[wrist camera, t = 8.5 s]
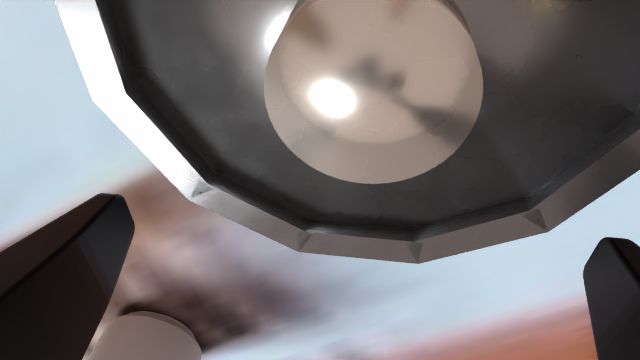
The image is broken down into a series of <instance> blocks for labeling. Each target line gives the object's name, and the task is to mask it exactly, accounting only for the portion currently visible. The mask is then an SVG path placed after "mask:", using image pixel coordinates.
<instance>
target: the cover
mask: <svg viewBox="0 0 640 360" xmlns="http://www.w3.org/2000/svg"><path fill="white" fill-rule="evenodd" d="M482 97H483V77H482V70H481V66H480V62H479V59H478V55H477V52H476V49H475V46H474V43H473V40H472V37H471V34H470V31H469V28H468V25H467V22H466V19H465V16H464V12H463V9H462V6H461V3H460V0H297V2H296V4H295V6H294V8H293V10H292V12H291V13H290V15H289V17H288V19H287V21H286V23H285V25H284V27H283V29H282V31H281V33H280V35H279V36H278V38H277V40H276V42H275V44H274V46H273V48H272V51H271V53H270V55H269V58H268V61H267V65H266V69H265V76H264V98H265V104H266V108H267V112H268V115H269V118H270V120H271V122H272V124H273V127H274V129H275V130H276V132H277V134H278V135H279V137H280V138H281V140H282V141H283V142H284V143H285V145H286V146H287V147H288V148H289V149H290V150H291V151H292V152H293V153H294V154H295V155H296V156H297V157H298V158H300V159H301V160H302V161H304V162H305V163H306V164H308V165H309V166H311V167H313V168H314V169H316V170H318V171H320V172H322V173H324V174H326V175H329V176H332V177H335V178H338V179H341V180H345V181H350V182H356V183H364V184H381V183H391V182H397V181H402V180H405V179H409V178H412V177H415V176H417V175H420V174H422V173H425V172H427V171H428V170H430V169H432V168H434V167H436V166H437V165H439V164H440V163H442V162H443V161H445V160H446V159H447V158H448V157H449V156H450V155H452V154H453V153H454V152H455V151H456V150H457V149H458V148H459V146H460V145H461V144H462V143H463V142H464V140H465V139H466V138H467V136H468V135H469V133H470V132H471V130H472V128H473V126H474V124H475V122H476V120H477V117H478V114H479V111H480V107H481V102H482Z"/></svg>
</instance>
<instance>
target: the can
mask: <svg viewBox="0 0 640 360" xmlns="http://www.w3.org/2000/svg"><path fill="white" fill-rule="evenodd" d="M201 354H202V351H201V349H200V347H199V344H198V343H197V341H196V339H195V337H194V334H193V333H192V332H191V331H190V330H189V329H188V328H187V327H186V326H185V325H183V324H182V323H180V322H179V321H177V320H175V319H173V318H170V317H168V316H166V315H162V314H159V313H155V312H147V311H138V312H131V313H129V314H127V315H123V316H119V317H117V318H115V319H113V320H110V321H109V323H108V324H107V326H106V328H105V329H104V331H103V333H102V335H101V336H100V338H99V340H98V342H97V344H96V345H95V347H94V349H93V351H92V353H91V354H90V356H89V358H88V360H200V359H201Z"/></svg>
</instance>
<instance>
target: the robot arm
mask: <svg viewBox="0 0 640 360" xmlns="http://www.w3.org/2000/svg"><path fill="white" fill-rule="evenodd" d="M134 230H135V226H134V221H133V219H132V216H131V214H130V211H129V209H128V206H127V204H126V201H125V199H124V198H123V197H122V196H121V195H119V194H110V193H100V194H98V195H96V196H94V197H92V198H91V199H89V200H87V201H86V202H84V203H82V204H81V205H79V206H77V207H75V208H74V209H72V210H70V211H69V212H67V213H65V214H64V215H62V216H60V217H59V218H57V219H55V220H54V221H52V222H50V223H49V224H47V225H45V226H43V227H42V228H40V229H38V230H37V231H35V232H33V233H32V234H30V235H28V236H27V237H25V238H23V239H22V240H20V241H18V242H16V243H15V244H13V245H11V246H10V247H8V248H6V249H5V250H3V251H1V252H0V360H82V359H83V356H84V354H85V352H86V350H87V348H88V346H89V344H90V342H91V340H92V338H93V336H94V334H95V332H96V330H97V327H98V325H99V323H100V321H101V319H102V317H103V315H104V313H105V311H106V309H107V306H108V304H109V302H110V299H111V297H112V294H113V292H114V289H115V286H116V283H117V281H118V278H119V275H120V272H121V269H122V266H123V264H124V261H125V258H126V255H127V252H128V250H129V247H130V244H131V241H132V238H133V235H134ZM583 279H584V285H585V291H586V296H587V302H588V308H589V313H590V319H591V325H592V330H593V336H594V342H595V347H596V351H597V356H598V360H640V247H639V246H638V245H637V244H636V243H634V242H633V241H631V240H629V239H623V238H612V237H606V238H603V239H602V240H600V242H599V243H598V245H597V246H596V248H595V250H594V251H593V253H592V255H591V256H590V258H589V260H588V261H587V263H586V265H585V267H584V271H583Z"/></svg>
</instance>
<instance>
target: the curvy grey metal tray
mask: <svg viewBox="0 0 640 360" xmlns="http://www.w3.org/2000/svg"><path fill="white" fill-rule="evenodd" d="M54 1H55V4H56V6H57V9H58V12H59V14H60V17H61V19H62V22H63V25H64V27H65V30H66V32H67V35H68V38H69V40H70V43H71V45H72V48H73V50H74V53H75V56H76V58H77V61H78V63H79V66H80V69H81V71H82V74H83V76H84V79H85V81H86V84H87V87H88V89H89V92H90V94H91V97H92V100H93V101H94V102H95V103H96V104H97V105H98V106H99V107H100V108H101V109H102V110H103V111H104V112H105V113H106V114H107V115H108V116H109V117H110V118H111V120H112V121H113V122H114V123H115V124H116V125H117V126H118V127H119V128H120V129H121V130H122V131H123V132H124V133H125V134H126V135H127V136H128V137H129V138H130V139H131V140H132V141H133V142H134V143H135V144H136V146H137V147H138V148H139V149H140V150H141V151H142V152H143V153H144V154H145V155H146V156H147V157H148V158H149V159H150V160H151V161H152V162H153V163H154V164H155V165H156V166H157V167H158V168H159V169H160V170H161V172H162V173H163V174H164V175H165V176H166V177H167V178H168V179H169V180H170V181H171V182H172V183H173V184H174V185H175V186H176V187H177V188H178V189H179V190H180V191H181V192H182V193H183V194H184V195H185V196H186V198H187V199H188V200H190V201H192V202H194V203H197V204H199V205H201V206H203V207H205V208H207V209H209V210H211V211H213V212H216V213H218V214H220V215H222V216H224V217H226V218H228V219H230V220H232V221H234V222H237V223H239V224H241V225H243V226H245V227H247V228H249V229H251V230H253V231H256V232H258V233H260V234H262V235H264V236H266V237H268V238H270V239H272V240H275V241H277V242H279V243H281V244H283V245H285V246H287V247H289V248H291V249H294V250H296V251H298V252H305V253H315V254H325V255H335V256H345V257H355V258H365V259H375V260H385V261H395V262H406V263H416V264H419V263H423V262H428V261H432V260H436V259H440V258H444V257H448V256H452V255H456V254H460V253H464V252H468V251H472V250H476V249H480V248H484V247H489V246H493V245H497V244H501V243H505V242H509V241H513V240H517V239H521V238H525V237H529V236H533V235H537V234H541V233H545V232H549V231H550V230H552V229H553V228H555V227H556V226H558V225H559V224H561V223H562V222H563V221H565V220H566V219H568V218H569V217H571V216H572V215H574V214H575V213H577V212H578V211H580V210H581V209H583V208H584V207H586V206H587V205H588V204H590V203H591V202H593V201H594V200H596V199H597V198H599V197H600V196H602V195H603V194H605V193H606V192H608V191H609V190H611V189H612V188H613V187H615V186H616V185H618V184H619V183H621V182H622V181H624V180H625V179H627V178H628V177H630V176H631V175H633V174H634V173H636V172H637V171H638V170H640V0H460V3H461V6H462V9H463V12H464V16H465V19H466V22H467V25H468V28H469V31H470V34H471V37H472V40H473V43H474V46H475V49H476V52H477V55H478V59H479V62H480V66H481V70H482V77H483V97H482V102H481V107H480V111H479V114H478V117H477V120H476V122H475V124H474V126H473V128H472V130H471V132H470V133H469V135H468V136H467V138H466V139H465V140H464V142H463V143H462V144H461V145H460V146H459V148H458V149H457V150H456V151H455V152H454V153H453V154H452V155H450V156H449V157H448V158H447V159H446V160H445V161H443V162H442V163H440V164H439V165H437V166H436V167H434V168H432V169H430V170H428V171H427V172H425V173H422V174H420V175H417V176H415V177H412V178H409V179H405V180H402V181H397V182H391V183H381V184H364V183H356V182H350V181H345V180H341V179H338V178H335V177H332V176H329V175H326V174H324V173H322V172H320V171H318V170H316V169H314V168H313V167H311V166H309V165H308V164H306V163H305V162H304V161H302V160H301V159H300V158H298V157H297V156H296V155H295V154H294V153H293V152H292V151H291V150H290V149H289V148H288V147H287V146H286V145H285V143H284V142H283V141H282V140H281V138H280V137H279V135H278V134H277V132H276V130H275V129H274V127H273V124H272V122H271V120H270V118H269V115H268V112H267V108H266V104H265V98H264V76H265V69H266V65H267V61H268V58H269V55H270V53H271V51H272V48H273V46H274V44H275V42H276V40H277V38H278V36H279V35H280V33H281V31H282V29H283V27H284V25H285V23H286V21H287V19H288V17H289V15H290V13H291V12H292V10H293V8H294V6H295V4H296V2H297V0H54Z"/></svg>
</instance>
